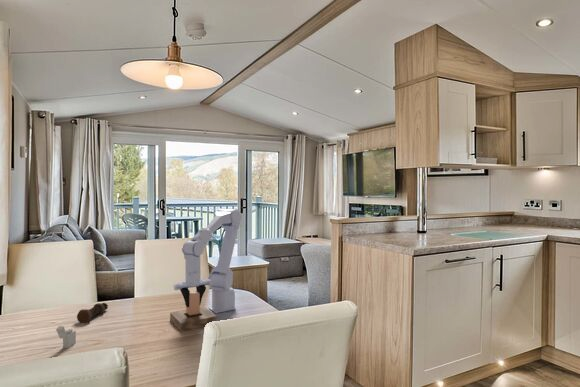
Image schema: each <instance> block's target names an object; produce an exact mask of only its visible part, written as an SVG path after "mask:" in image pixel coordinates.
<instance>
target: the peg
mask: <svg viewBox="0 0 580 387" xmlns="http://www.w3.org/2000/svg"><path fill="white" fill-rule="evenodd" d="M200 307H201V304H200V293H199V292H197V290H193V291H190V294H189V307H186V306H185V310H186V313H188V314H189V315H194V314H199V313H200Z"/></svg>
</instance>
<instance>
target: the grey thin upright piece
mask: <svg viewBox="0 0 580 387" xmlns="http://www.w3.org/2000/svg"><path fill="white" fill-rule="evenodd" d="M55 330H56V333H57V335H58V337H59V339H62V348H63V349H68V348H70V347H72V346H74V345H75V344H76V343H77V341H76V340H77V338H76V336H77V334H76V332H77V330H73V329H72V328H69V329H67V330H65V327H64V326H63V325H59V326H58V327H56V329H55Z"/></svg>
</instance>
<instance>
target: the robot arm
mask: <svg viewBox="0 0 580 387" xmlns="http://www.w3.org/2000/svg"><path fill="white" fill-rule="evenodd" d="M241 219H242V215H241V212H240V210H238V209H237V208H234V209H233V208H231V209H229V208H218V209H217V211H215V213H214V217H213V218H212V220H211V221H210V222H209V224H208V225H207V226H206V227H205V228H204V227H203V228H200V229H199V230H198V232H196V234H195V235H194V236H193V237H192V238H191V239H190V240H187V241H185V242H184V244H183V245H182V248H181V252H182V254H183V258H184V260H185V261H184V262H185V281H183V282H180V283H175V284H173V290H174V291H179V290H180V292H181V295H182V296H183V300H184V304H185V308H186V307H189V294H190V292H191V291H190V289H191V288H195V289H196V290H195V291H197V292H199V293H200V305H201V303H202V300H203V296H204V295H205V293H206V291H207V286H209V287H210V290H211V306H209V307H208V310H209V311H211V312H212V313H214V314H218V313H224V312H228V311H232V310H233V311H234V310H236V304H235V303H236V294H235V290H234V288H233V287H232V286H233V283H234V272H233V270H232V269H231V268H230V266H231V262H232V258H233V253H234V249H235V244H236V239H237V235H238V231H239V228H240V224H241ZM220 227H222V229H224V236H223V240H222V244H221V248H220V252H219V257H218V261H217V265H216V266H215V267H213V268H212V269H211V271H210V273H209V276H207V279H201V256H202V254H203V253H204V250H205V247H206V245H207V244H208V243H209V242H210V241H211V239H213V234H214V232H215V231H217V230H218V229H219V228H220Z"/></svg>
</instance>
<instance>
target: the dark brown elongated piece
mask: <svg viewBox="0 0 580 387" xmlns="http://www.w3.org/2000/svg"><path fill="white" fill-rule="evenodd" d="M108 308H109V305H108V304H107V303H105V302H102V303H95V304H94V305H93V307H92V308H90V309H87V308H86V309H80V310H79V311H78V312H77V314H76V319H77V321H78V322H79V323H80V324H87V323H90V321H91V319H92V317H95V316H98V315H103V313H104V312H105V311H106V310H108Z"/></svg>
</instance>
